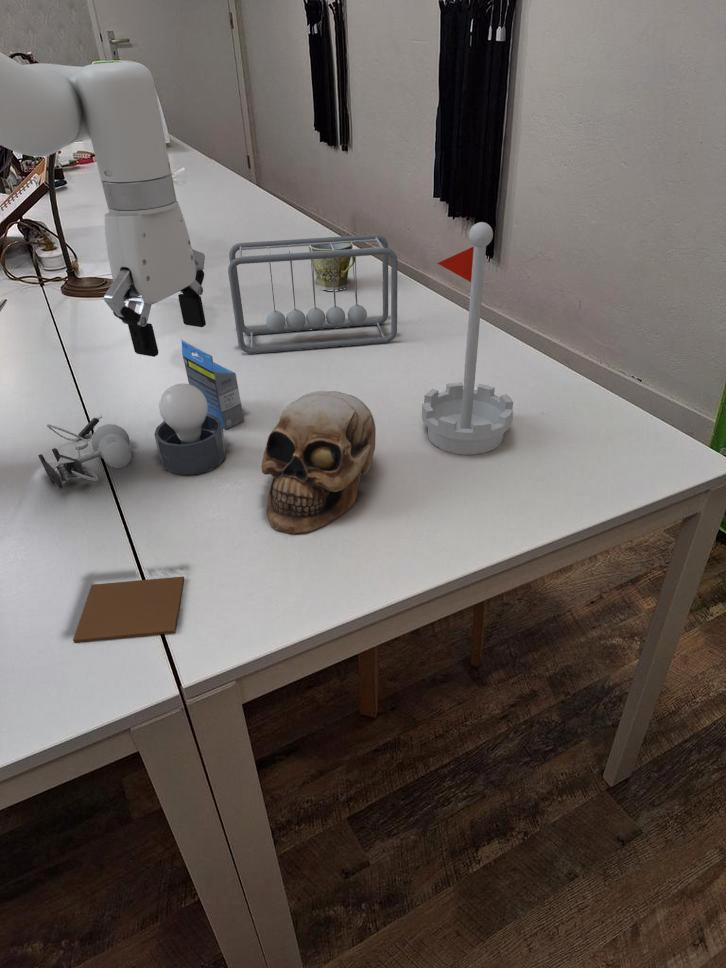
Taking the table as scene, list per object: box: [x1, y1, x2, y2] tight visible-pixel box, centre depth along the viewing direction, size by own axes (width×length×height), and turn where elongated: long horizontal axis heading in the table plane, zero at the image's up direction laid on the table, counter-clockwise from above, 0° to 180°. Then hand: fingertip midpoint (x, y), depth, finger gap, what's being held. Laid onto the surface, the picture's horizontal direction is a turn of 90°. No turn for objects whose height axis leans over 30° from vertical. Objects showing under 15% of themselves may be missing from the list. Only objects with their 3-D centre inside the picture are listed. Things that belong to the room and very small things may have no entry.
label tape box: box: [180, 338, 245, 430], centre depth 99 cm, size 9×4×12 cm, turn 44°
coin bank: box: [260, 390, 377, 535], centre depth 83 cm, size 16×17×13 cm
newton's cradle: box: [227, 233, 399, 355], centre depth 123 cm, size 30×10×18 cm, turn 98°
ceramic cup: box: [308, 243, 355, 291], centre depth 149 cm, size 13×10×10 cm
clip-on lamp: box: [37, 415, 133, 490], centre depth 91 cm, size 12×6×18 cm
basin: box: [153, 414, 227, 476], centre depth 91 cm, size 9×9×5 cm
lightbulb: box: [158, 383, 208, 444], centre depth 89 cm, size 6×6×11 cm
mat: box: [72, 576, 185, 644], centre depth 69 cm, size 10×8×1 cm
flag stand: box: [421, 221, 514, 456], centre depth 88 cm, size 13×13×30 cm
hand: (172, 339), depth 82 cm, fingers open, 9 cm apart
